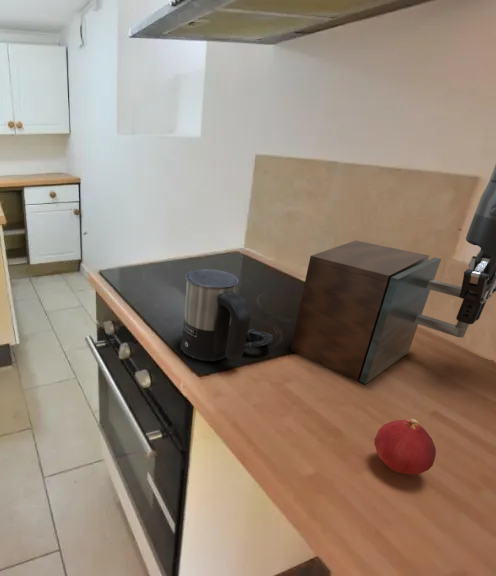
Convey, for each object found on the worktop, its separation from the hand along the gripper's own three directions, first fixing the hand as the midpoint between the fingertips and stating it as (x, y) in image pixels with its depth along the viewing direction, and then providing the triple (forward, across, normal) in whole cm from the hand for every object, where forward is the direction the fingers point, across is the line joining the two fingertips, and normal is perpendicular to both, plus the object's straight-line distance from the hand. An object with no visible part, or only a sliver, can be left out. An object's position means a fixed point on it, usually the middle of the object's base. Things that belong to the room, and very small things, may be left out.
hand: (466, 319), depth 62 cm
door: (+10, -7, +3) cm, 13 cm away
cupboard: (+10, -7, +14) cm, 19 cm away
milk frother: (+11, -25, +27) cm, 39 cm away
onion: (+11, -30, -4) cm, 32 cm away
